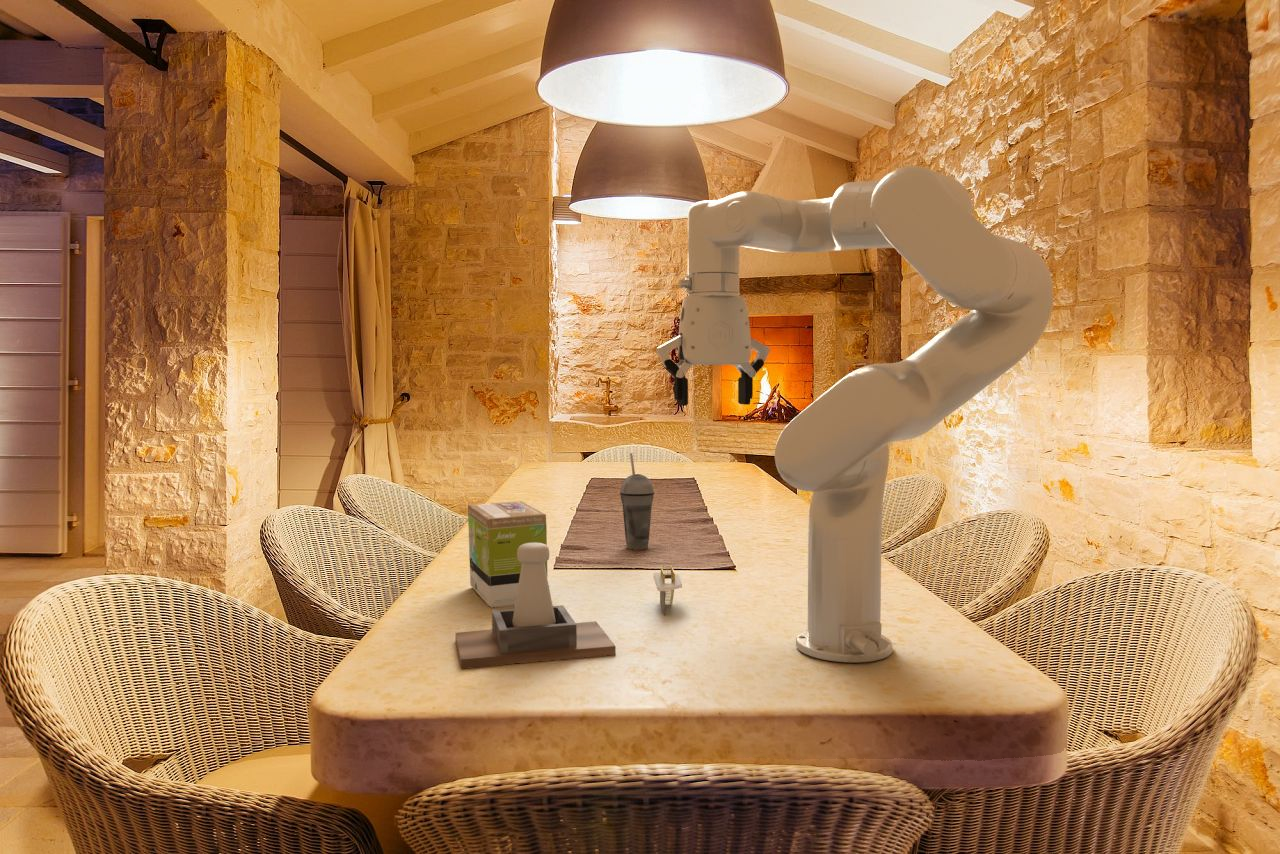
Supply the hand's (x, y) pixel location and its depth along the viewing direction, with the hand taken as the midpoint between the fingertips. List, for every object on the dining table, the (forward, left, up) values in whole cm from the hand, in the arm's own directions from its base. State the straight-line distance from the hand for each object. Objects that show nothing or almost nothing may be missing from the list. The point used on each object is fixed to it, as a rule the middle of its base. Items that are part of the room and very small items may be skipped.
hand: (713, 404), depth 133 cm
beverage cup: (+56, -3, -32) cm, 65 cm away
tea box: (+24, +28, -33) cm, 49 cm away
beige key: (+8, +5, -33) cm, 34 cm away
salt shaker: (-6, +28, -31) cm, 42 cm away
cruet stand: (-6, +28, -32) cm, 43 cm away
